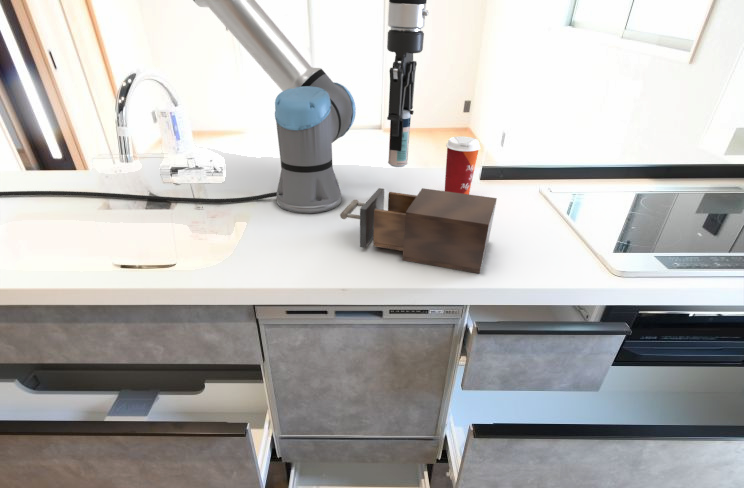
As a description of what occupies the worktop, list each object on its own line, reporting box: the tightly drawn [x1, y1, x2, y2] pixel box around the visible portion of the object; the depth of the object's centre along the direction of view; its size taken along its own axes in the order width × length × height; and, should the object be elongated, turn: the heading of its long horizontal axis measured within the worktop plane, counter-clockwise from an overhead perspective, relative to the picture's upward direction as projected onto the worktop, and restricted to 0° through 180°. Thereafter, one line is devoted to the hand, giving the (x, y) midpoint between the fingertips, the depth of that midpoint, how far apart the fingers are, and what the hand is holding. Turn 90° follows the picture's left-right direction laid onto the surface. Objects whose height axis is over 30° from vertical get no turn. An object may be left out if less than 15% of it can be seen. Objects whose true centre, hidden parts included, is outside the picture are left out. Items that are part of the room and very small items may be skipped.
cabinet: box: [402, 187, 498, 274], centre depth 85 cm, size 15×13×10 cm
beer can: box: [387, 110, 412, 168], centre depth 105 cm, size 5×5×12 cm
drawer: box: [339, 187, 418, 252], centre depth 87 cm, size 18×11×8 cm, turn 71°
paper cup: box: [444, 135, 481, 195], centre depth 104 cm, size 8×8×14 cm
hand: (398, 146), depth 106 cm, fingers closed on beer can, 5 cm apart
